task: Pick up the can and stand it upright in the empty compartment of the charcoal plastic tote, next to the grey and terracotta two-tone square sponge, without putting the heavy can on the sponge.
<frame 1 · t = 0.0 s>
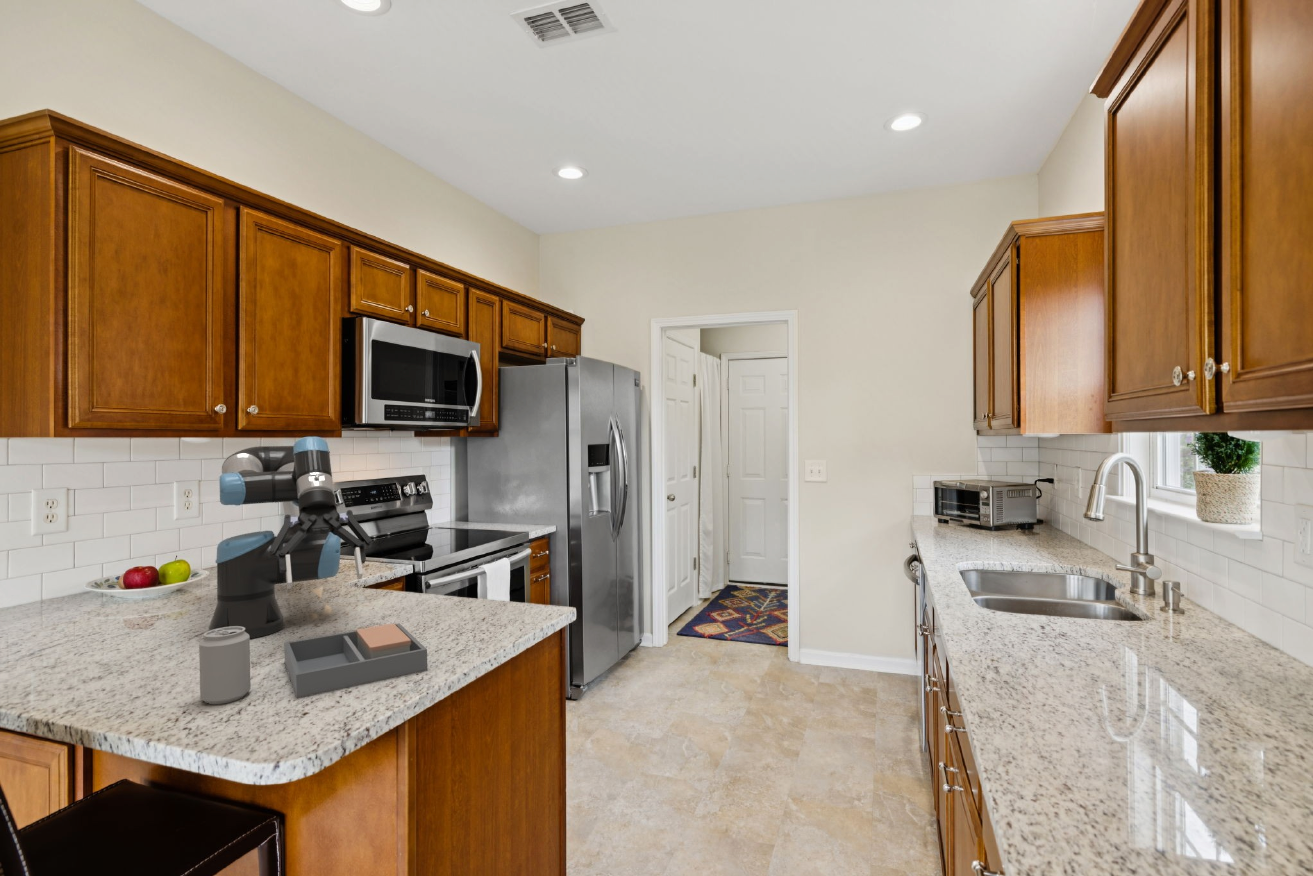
hand: (325, 581, 139), 15 cm above the countertop, tool tilted 35°, fingers open, 13 cm apart
can: (225, 698, 115), on the countertop
tote: (354, 671, 127), on the countertop
two-tone square sponge: (383, 660, 130), point 1 cm above the countertop, touching tote
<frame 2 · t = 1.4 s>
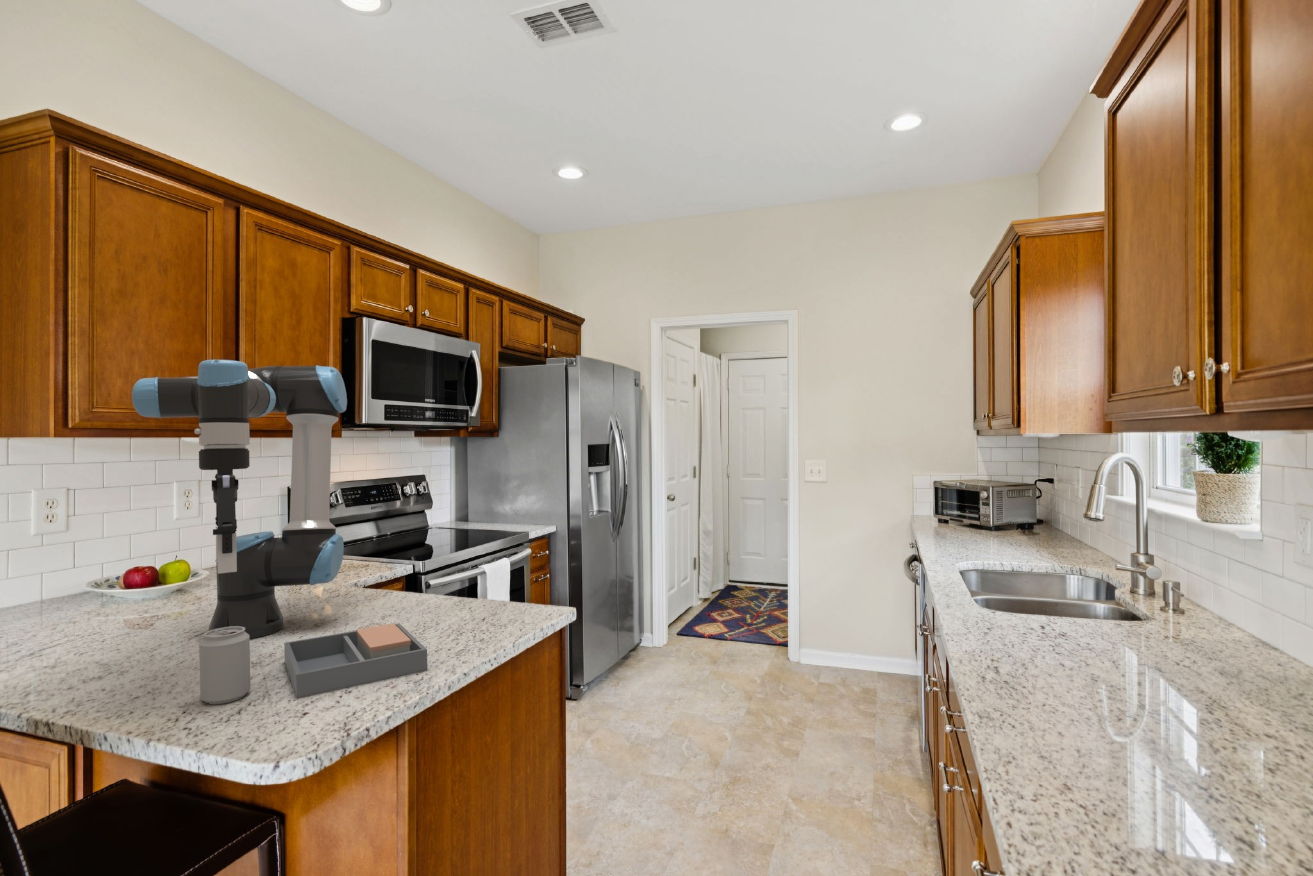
hand: (226, 566, 115), 23 cm above the countertop, tool pointing down, fingers open, 13 cm apart
nothing on the countertop moved.
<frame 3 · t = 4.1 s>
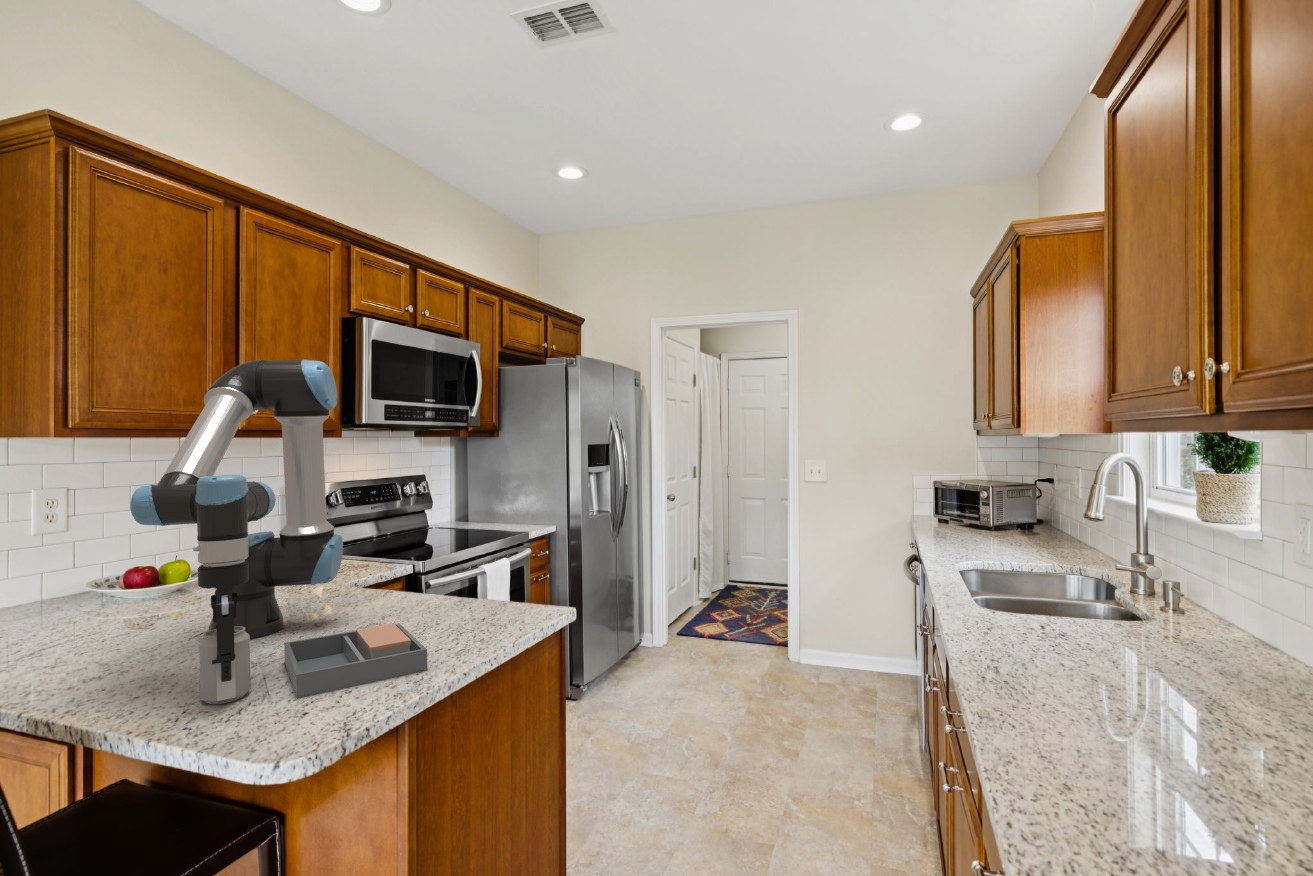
hand: (225, 690, 115), 1 cm above the countertop, tool pointing down, fingers closed on can, 7 cm apart
can: (226, 698, 115), on the countertop, touching gripper
everything else where it was.
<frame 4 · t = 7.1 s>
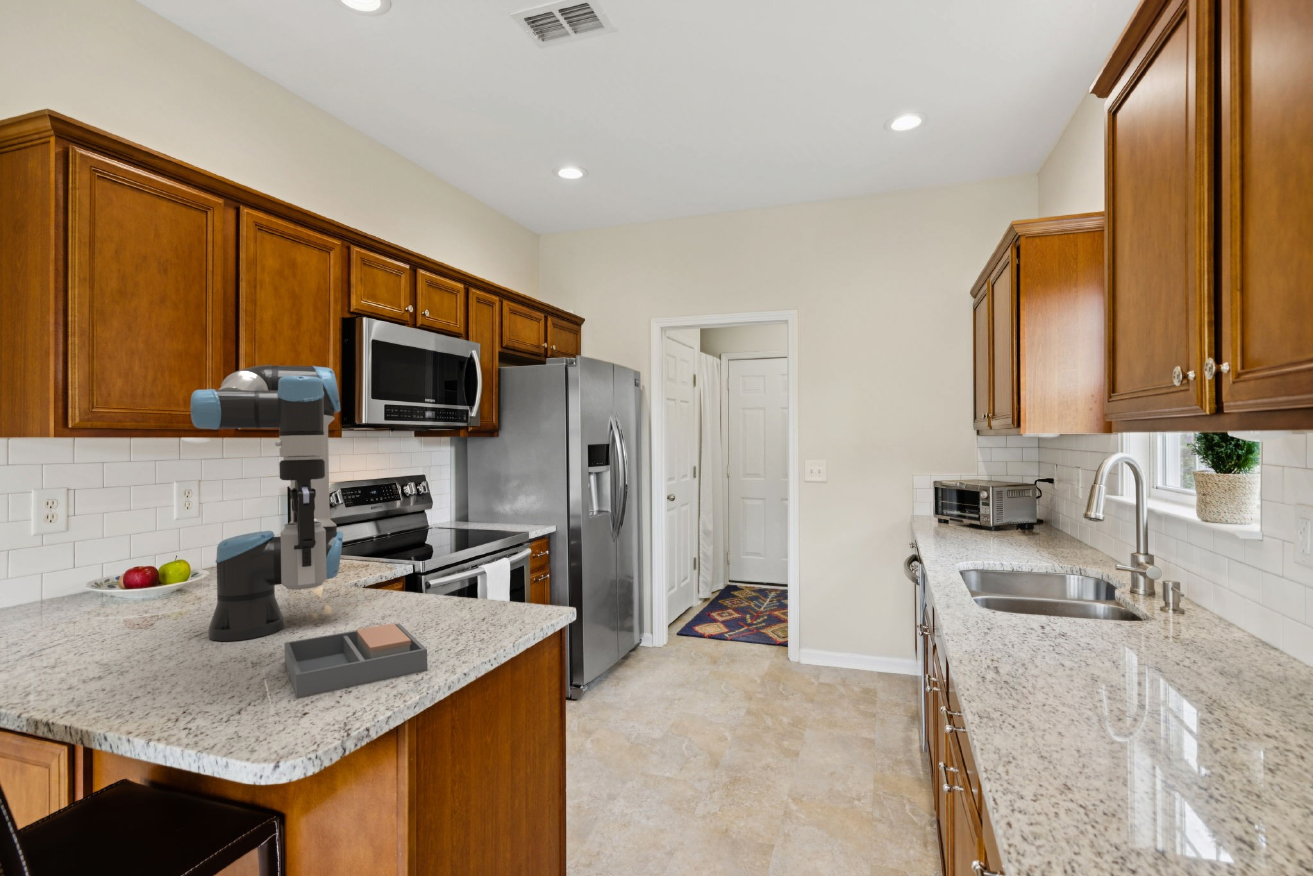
hand: (304, 579, 122), 19 cm above the countertop, tool pointing down, fingers closed on can, 7 cm apart
can: (304, 587, 122), point 18 cm above the countertop, touching gripper
everything else where it was.
when the fingers open (4 cm above the countertop, at t = 10.0 s): can drops 1 cm, resting on tote.
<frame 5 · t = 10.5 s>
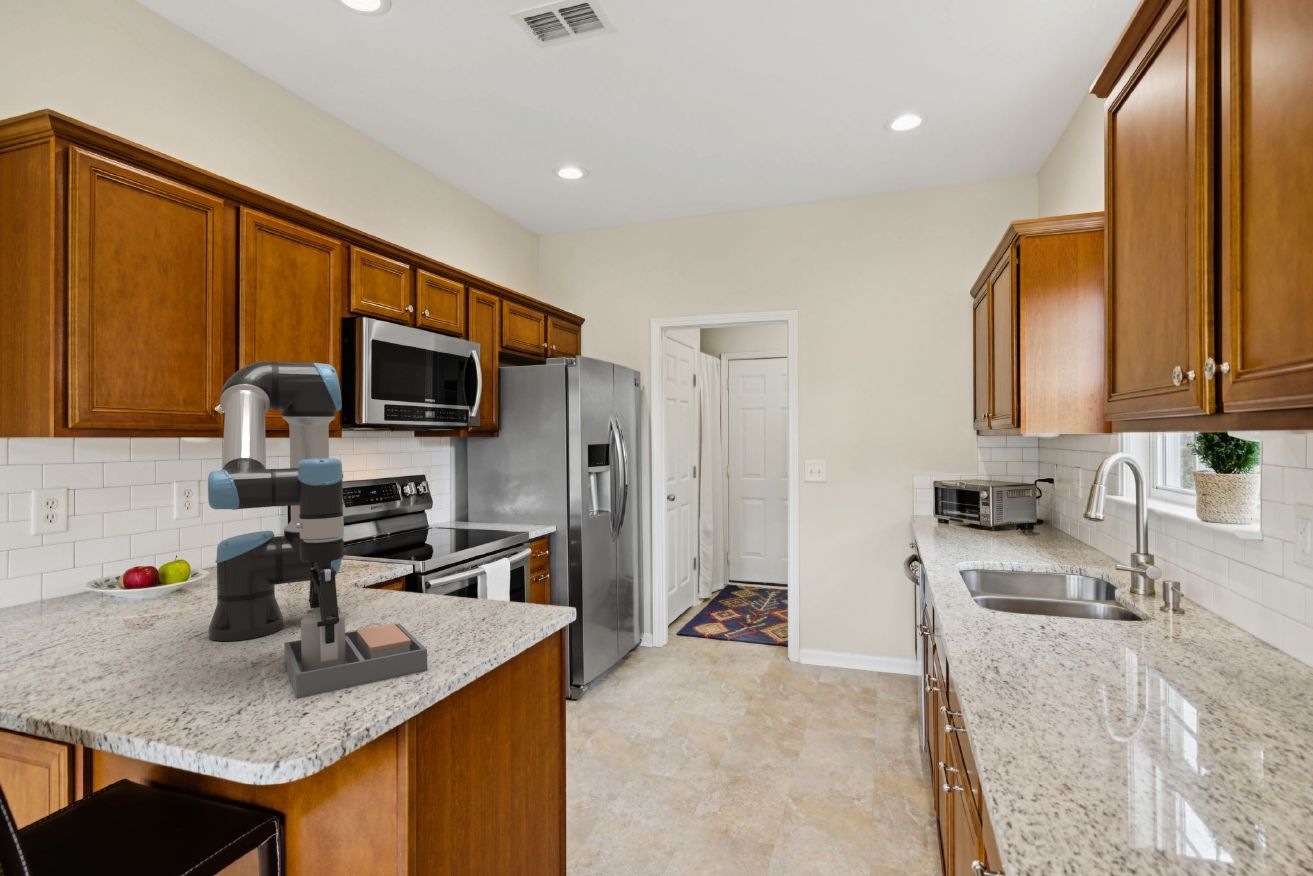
hand: (323, 650, 124), 5 cm above the countertop, tool pointing down, fingers open, 13 cm apart
can: (324, 672, 124), point 1 cm above the countertop, touching tote
everything else where it was.
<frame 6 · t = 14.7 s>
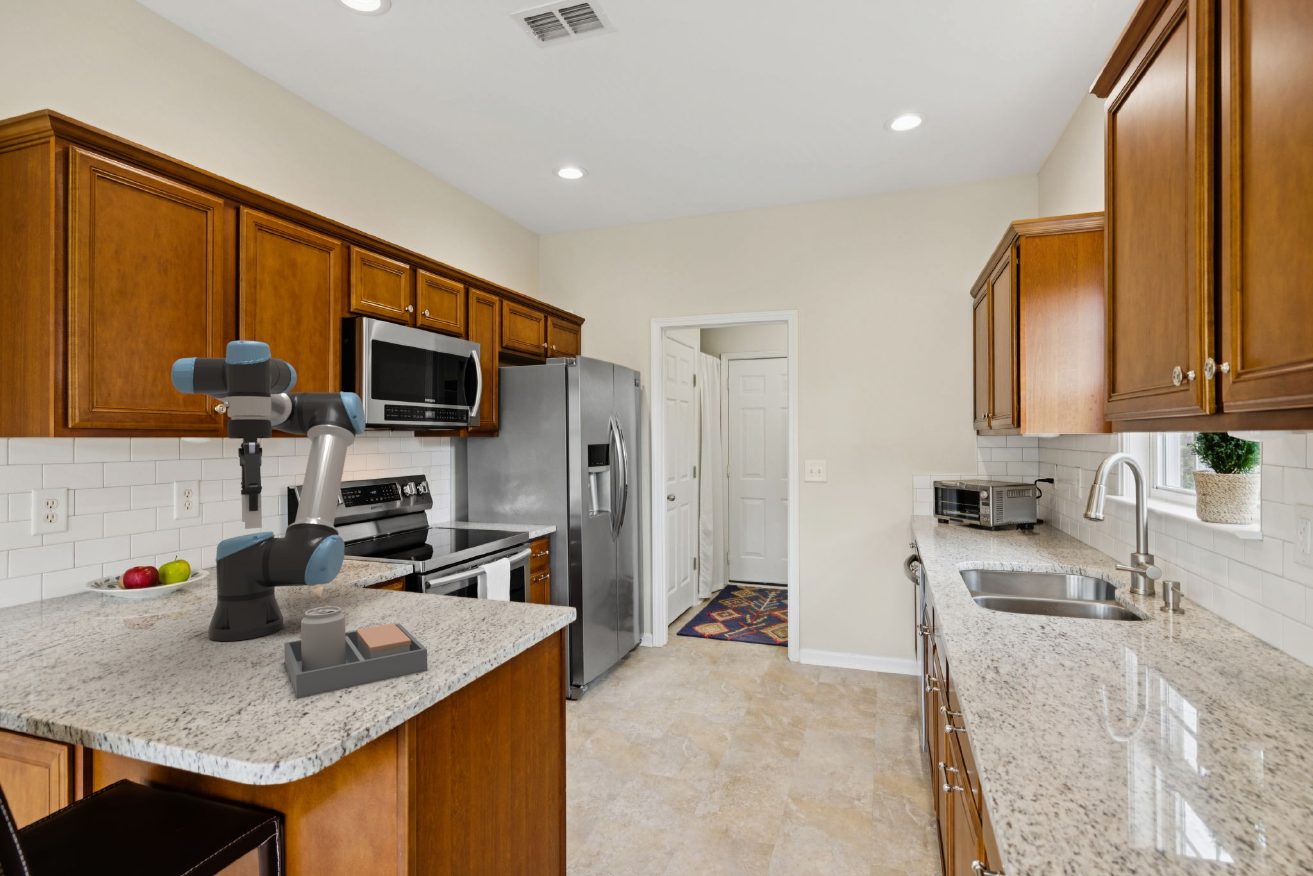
hand: (251, 524, 130), 29 cm above the countertop, tool pointing down, fingers open, 13 cm apart
nothing on the countertop moved.
at the end: can inside the target area (0.4 cm from its centre), point 0.8 cm above the countertop; can tilted 0°; two-tone square sponge moved 0.1 cm from its start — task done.
